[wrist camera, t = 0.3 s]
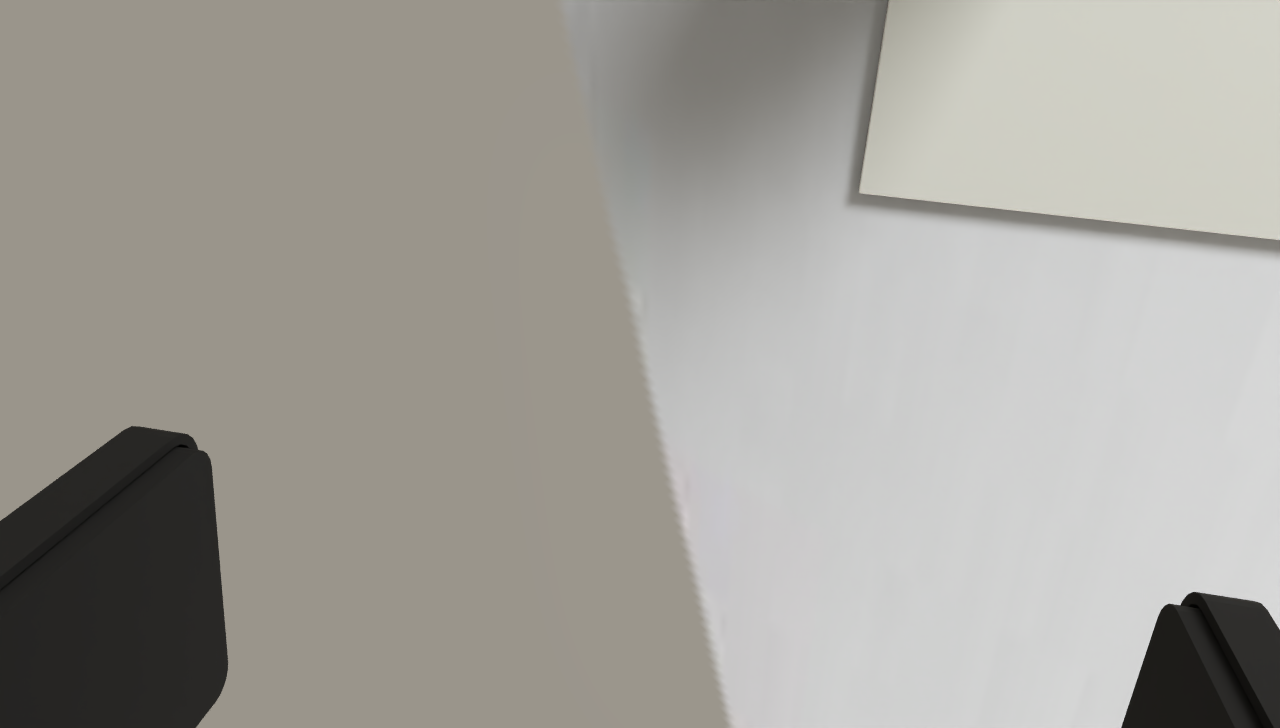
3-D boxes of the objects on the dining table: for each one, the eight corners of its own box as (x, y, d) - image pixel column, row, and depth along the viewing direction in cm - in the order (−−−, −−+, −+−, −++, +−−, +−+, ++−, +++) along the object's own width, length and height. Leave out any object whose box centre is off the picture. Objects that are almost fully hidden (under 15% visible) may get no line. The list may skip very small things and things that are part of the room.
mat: (914, -163, 33) (915, -164, 33) (1782, -99, 30) (1800, -99, 30) (858, 188, 38) (859, 193, 37) (1612, 272, 35) (1625, 278, 34)
